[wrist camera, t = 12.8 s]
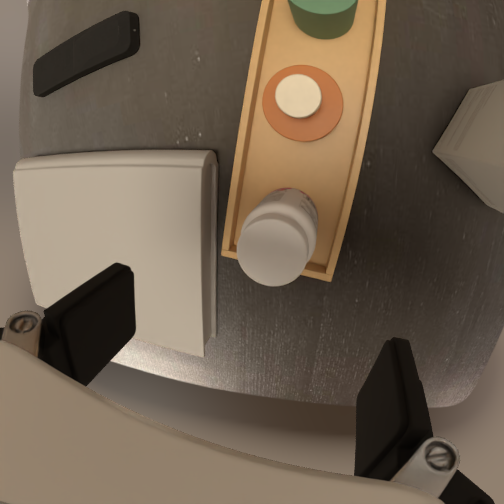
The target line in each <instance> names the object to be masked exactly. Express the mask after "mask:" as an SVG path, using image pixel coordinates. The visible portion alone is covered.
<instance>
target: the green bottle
mask: <svg viewBox="0 0 504 504" xmlns="http://www.w3.org/2000/svg"><path fill="white" fill-rule="evenodd" d="M288 3H289V6H290V9H291V13H292V16H293V19H294V21H295V23H296V25H297V26H298V28H299V29H300V30H301V31H303V32H304V33H305V34H307V35H309V36H311V37H314V38H317V39H335V38H338V37H341V36H343V35H344V34H346V33H347V32H348V31H349V30H350V29H351V27H352V25H353V22H354V18H355V13H356V9H357V4H358V0H288Z"/></svg>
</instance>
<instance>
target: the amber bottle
mask: <svg viewBox="0 0 504 504" xmlns="http://www.w3.org/2000/svg"><path fill="white" fill-rule="evenodd" d="M262 107H263V112H264V115H265V117H266V119H267V121H268V123H269V124H270V126H271V127H272V128H273V129H274V130H275V131H276V132H277V133H279V134H280V135H282V136H283V137H286V138H288V139H291V140H294V141H301V142H307V141H315V140H319V139H321V138H324V137H325V136H327V135H328V134H329V133H331V131H332V130H333V129H334V128H335V127H336V126H337V124H338V123H339V121H340V119H341V116H342V113H343V96H342V93H341V90H340V88H339V86H338V84H337V83H336V82H335V80H334V79H333V78H332V77H331V76H330V75H329V74H327V73H326V72H325V71H323V70H321V69H319V68H317V67H313V66H309V65H294V66H289V67H287V68H284V69H282V70H280V71H279V72H277V73H276V74H275V75H274V76H273V77H272V78H271V79H270V80H269V82H268V83H267V85H266V87H265V89H264V92H263V97H262Z"/></svg>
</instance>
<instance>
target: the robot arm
mask: <svg viewBox="0 0 504 504" xmlns="http://www.w3.org/2000/svg"><path fill="white" fill-rule="evenodd" d="M44 314H45V317H44V318H43V319H41V317H40V315H39V314H37V313H36V312H33V311H21V312H18V313H15V314H14V315H12V316H11V317H10V318H9V319H8V320H7V322H6V325H5V327H4V328H0V504H495V503H494V501H493V500H492V499H491V497H490V496H488V495H487V494H486V493H485V492H484V491H483V490H481V489H480V488H479V487H478V486H477V485H475V484H474V483H473V482H472V481H471V480H469V479H468V478H467V477H466V476H465V475H463V474H462V473H461V472H460V471H459V470H457V468H458V466H459V463H460V455H459V452H458V450H457V448H456V447H455V445H454V444H453V443H452V442H450V441H449V440H447V439H445V438H442V437H433V432H432V427H431V422H430V417H429V412H428V407H427V403H426V398H425V394H424V389H423V385H422V382H421V381H420V380H419V377H418V373H417V369H416V365H415V361H414V357H413V354H412V350H411V346H410V343H409V341H408V340H405V339H400V338H396V337H393V338H392V339H391V340H387V341H386V342H385V343H384V345H383V348H382V350H381V352H380V354H379V356H378V358H377V360H376V362H375V364H374V366H373V368H372V369H371V371H370V373H369V375H368V377H367V379H366V381H365V383H364V385H363V386H362V388H361V390H360V392H359V394H358V397H357V402H356V413H357V414H356V450H355V451H356V452H355V470H354V476H352V475H343V474H338V473H332V472H326V471H320V470H315V469H310V468H305V467H300V466H295V465H290V464H286V463H281V462H277V461H273V460H269V459H265V458H261V457H257V456H254V455H250V454H246V453H243V452H240V451H236V450H233V449H230V448H226V447H223V446H220V445H217V444H214V443H211V442H208V441H205V440H203V439H200V438H197V437H194V436H192V435H189V434H186V433H184V432H181V431H178V430H176V429H173V428H171V427H168V426H166V425H163V424H161V423H159V422H156V421H154V420H152V419H150V418H147V417H145V416H143V415H141V414H139V413H136V412H134V411H132V410H130V409H128V408H126V407H124V406H122V405H120V404H117V403H116V402H114V401H112V400H110V399H108V398H106V397H104V396H102V395H100V394H98V393H96V392H95V391H93V390H91V389H89V388H87V387H86V386H87V385H88V384H89V383H90V382H91V381H92V380H93V379H94V377H95V376H96V375H97V374H98V373H99V372H100V371H101V370H102V369H103V368H104V367H105V366H106V364H108V363H109V362H110V360H111V359H112V358H113V357H114V356H115V355H116V354H117V353H118V352H119V351H120V350H121V349H122V348H123V347H124V346H125V345H126V344H127V343H128V342H129V340H130V339H131V338H132V337H133V336H134V334H135V332H136V315H135V289H134V273H133V271H131V268H130V267H129V266H127V265H124V264H121V263H118V262H116V263H114V264H112V265H111V266H109V267H108V268H106V269H104V270H103V271H101V272H100V273H98V274H97V275H95V276H94V277H92V278H91V279H89V280H88V281H86V282H85V283H83V284H82V285H80V286H79V287H77V288H76V289H74V290H73V291H71V292H70V293H68V294H67V295H65V296H64V297H63V298H61V299H60V300H58V301H57V302H55V303H54V304H52V305H51V306H50V307H48V308H47V309H46V310H44Z"/></svg>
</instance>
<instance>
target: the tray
mask: <svg viewBox="0 0 504 504" xmlns="http://www.w3.org/2000/svg"><path fill="white" fill-rule="evenodd" d="M385 8H386V0H358V4H357V9H356V13H355V18H354V22H353V25H352V27H351V29H350V30H349V31H348V32H347V33H346V34H344V35H343V36H341V37H338V38H335V39H317V38H314V37H311V36H309V35H307V34H305V33H304V32H303V31H301V30H300V29H299V28H298V26H297V25H296V23H295V21H294V19H293V16H292V13H291V9H290V6H289V3H288V0H262V3H261V8H260V13H259V19H258V24H257V29H256V34H255V40H254V45H253V50H252V56H251V61H250V67H249V73H248V78H247V84H246V90H245V96H244V102H243V108H242V114H241V120H240V126H239V133H238V139H237V145H236V152H235V158H234V165H233V171H232V178H231V185H230V192H229V199H228V206H227V213H226V220H225V228H224V235H223V243H222V250H221V255H222V256H226V257H230V258H234V259H238V258H237V243H238V240H239V237H240V235H241V229H242V226H243V223H244V221H245V219H246V218H247V216H248V215H249V214H250V213H251V212H252V210H253V209H254V208H255V207H256V206H257V205H258V204H259V203H260V202H261V201H262V200H263V199H264V198H265V197H266V196H267V195H268V194H269V193H271V192H272V191H274V190H277V189H280V188H295V189H298V190H300V191H302V192H304V193H305V194H307V195H308V196H309V197H310V198H311V199H312V201H313V202H314V204H315V206H316V209H317V213H318V227H317V238H316V246H315V249H314V252H313V255H312V256H311V258H310V260H309V261H308V262H307V263H306V266H305V268H304V270H303V271H302V273H301V274H300V275H303V276H308V277H312V278H316V279H320V280H324V281H329V282H331V280H332V277H333V273H334V270H335V266H336V263H337V259H338V256H339V252H340V249H341V245H342V241H343V238H344V234H345V230H346V226H347V223H348V219H349V215H350V211H351V207H352V203H353V199H354V194H355V190H356V186H357V182H358V177H359V173H360V168H361V164H362V159H363V154H364V149H365V145H366V140H367V134H368V129H369V124H370V118H371V113H372V107H373V101H374V95H375V89H376V83H377V76H378V69H379V62H380V54H381V46H382V38H383V29H384V19H385ZM294 65H309V66H313V67H317V68H319V69H321V70H323V71H325V72H326V73H327V74H329V75H330V76H331V77H332V78H333V79H334V80H335V82H336V83H337V84H338V86H339V88H340V90H341V93H342V96H343V113H342V116H341V119H340V121H339V123H338V124H337V126H336V127H335V128H334V129H333V130H332V131H331V133H329V134H328V135H327V136H325V137H324V138H321V139H319V140H315V141H307V142H301V141H294V140H291V139H288V138H286V137H283V136H282V135H280V134H279V133H277V132H276V131H275V130H274V129H273V128H272V127H271V126H270V124H269V123H268V121H267V119H266V117H265V115H264V112H263V107H262V97H263V92H264V89H265V87H266V85H267V83H268V82H269V80H270V79H271V78H272V77H273V76H274V75H275V74H276V73H277V72H279V71H280V70H282V69H284V68H287V67H289V66H294Z"/></svg>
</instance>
